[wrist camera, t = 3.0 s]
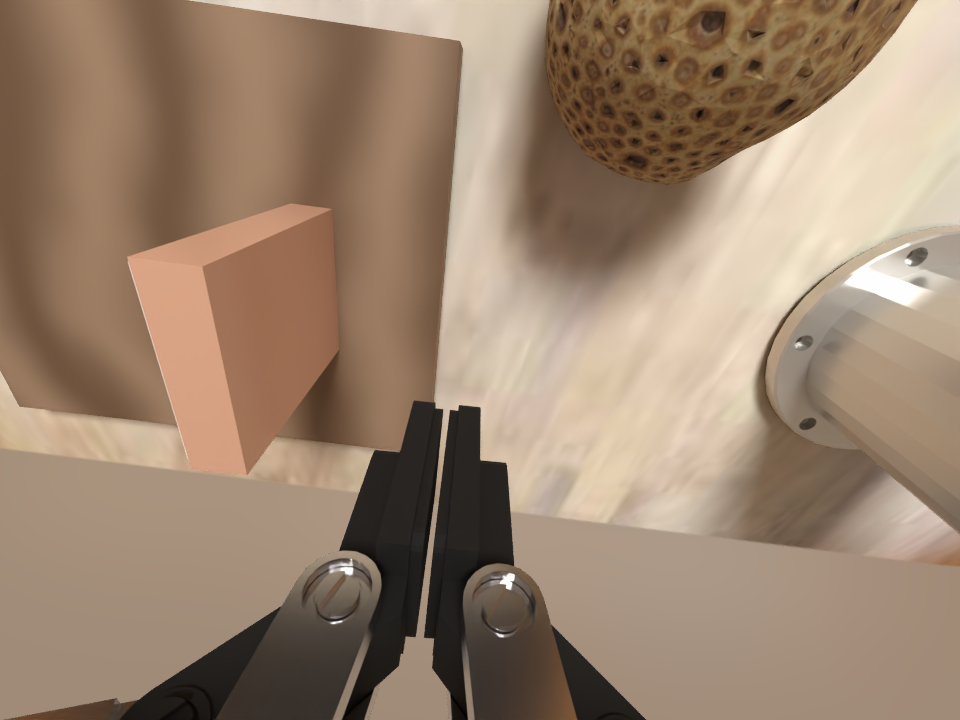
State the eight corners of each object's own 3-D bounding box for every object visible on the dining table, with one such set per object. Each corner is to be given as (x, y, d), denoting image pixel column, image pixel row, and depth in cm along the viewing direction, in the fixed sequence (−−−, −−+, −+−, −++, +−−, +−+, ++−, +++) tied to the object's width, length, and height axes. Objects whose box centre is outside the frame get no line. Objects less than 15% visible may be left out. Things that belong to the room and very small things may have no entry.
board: (462, 48, 16) (460, 40, 15) (430, 437, 26) (427, 453, 24) (-167, -45, 15) (-229, -62, 14) (44, 392, 25) (19, 406, 24)
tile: (332, 209, 18) (202, 266, 10) (339, 349, 21) (247, 475, 13) (286, 202, 18) (118, 255, 10) (300, 344, 21) (185, 468, 13)
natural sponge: (690, 194, 18) (867, 247, 10) (502, 139, 18) (508, 143, 9) (819, -77, 14) (1351, -427, 5) (576, -166, 13) (734, -751, 5)
